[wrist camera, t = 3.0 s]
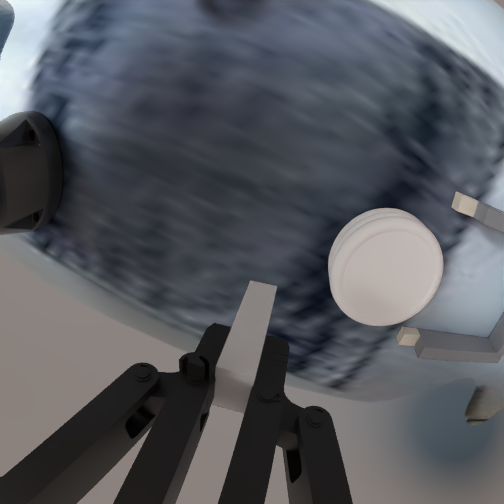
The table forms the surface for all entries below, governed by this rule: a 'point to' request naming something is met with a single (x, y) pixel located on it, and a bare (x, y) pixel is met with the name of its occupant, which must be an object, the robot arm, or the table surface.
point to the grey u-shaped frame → (457, 344)
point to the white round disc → (384, 267)
